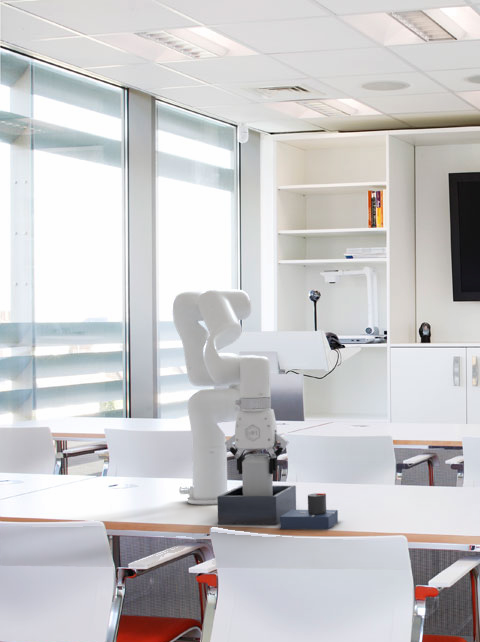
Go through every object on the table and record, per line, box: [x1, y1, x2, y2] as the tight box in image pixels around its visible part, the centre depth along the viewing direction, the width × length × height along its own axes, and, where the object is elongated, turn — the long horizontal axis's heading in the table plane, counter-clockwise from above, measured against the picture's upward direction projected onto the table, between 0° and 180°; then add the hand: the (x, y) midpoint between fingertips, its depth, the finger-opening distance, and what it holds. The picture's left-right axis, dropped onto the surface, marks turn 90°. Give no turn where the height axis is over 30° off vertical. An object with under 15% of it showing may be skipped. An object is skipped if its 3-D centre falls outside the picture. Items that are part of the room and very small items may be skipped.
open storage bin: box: [217, 484, 297, 526], centre depth 254 cm, size 15×17×7 cm
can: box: [241, 453, 274, 496], centre depth 254 cm, size 8×8×12 cm
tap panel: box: [279, 509, 339, 530], centre depth 244 cm, size 12×9×3 cm
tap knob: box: [307, 492, 327, 515], centre depth 243 cm, size 4×4×5 cm
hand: (257, 472), depth 254 cm, fingers closed on can, 7 cm apart
